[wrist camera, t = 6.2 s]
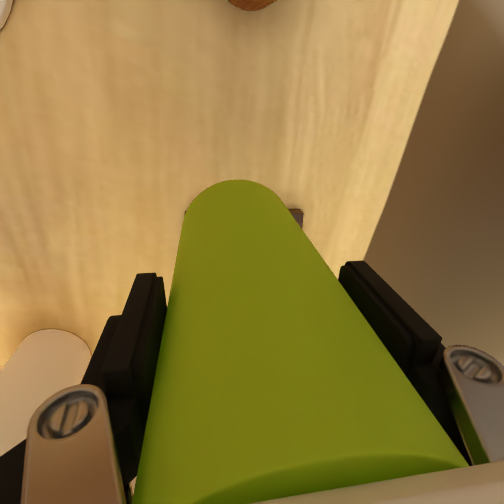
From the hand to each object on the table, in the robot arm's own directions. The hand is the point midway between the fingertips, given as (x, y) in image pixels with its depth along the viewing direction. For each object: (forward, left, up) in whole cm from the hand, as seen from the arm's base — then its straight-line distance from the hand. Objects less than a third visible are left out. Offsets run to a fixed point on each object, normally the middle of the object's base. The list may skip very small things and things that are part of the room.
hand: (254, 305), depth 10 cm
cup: (+24, -21, -24) cm, 40 cm away
